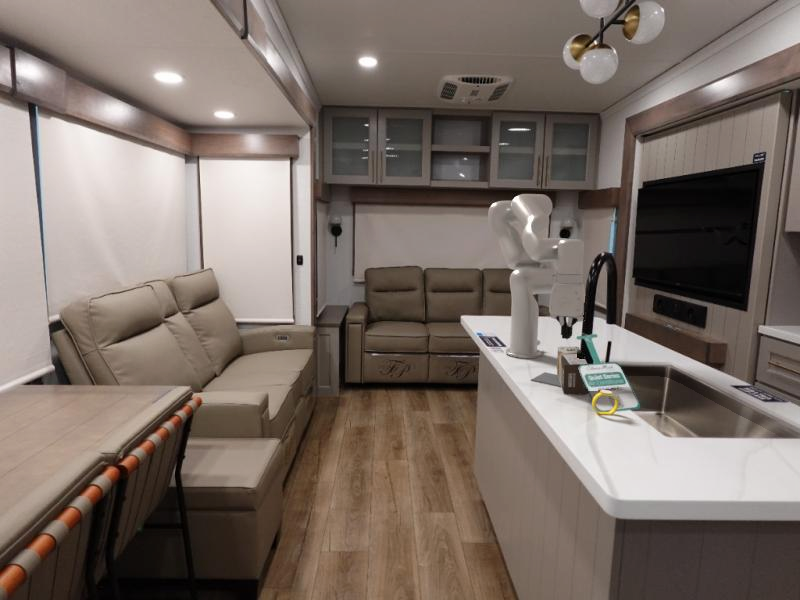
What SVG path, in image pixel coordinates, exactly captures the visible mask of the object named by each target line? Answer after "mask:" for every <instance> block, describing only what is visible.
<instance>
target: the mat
mask: <svg viewBox="0 0 800 600" xmlns="http://www.w3.org/2000/svg"><path fill="white" fill-rule="evenodd" d="M530 381H532V382H536V383H542V384H545V385H548V386H549V385H550V386H554V387H555V386H556V387H559V388H562V387H561V384H560V381H559V378H558V375H557V373H556V374H555V373H550V372H542V373H541V374H539V375H537V376H535V377H532V378H531V379H530Z"/></svg>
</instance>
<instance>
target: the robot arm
mask: <svg viewBox="0 0 800 600" xmlns="http://www.w3.org/2000/svg"><path fill="white" fill-rule="evenodd" d="M552 211H553V202H552V200H551V198H550V197H549V196H547V194H541V193H540V194H539V193H537V194H536V193H521V194H518V195H517V196H515V197H514V198H513V199H512V200H499V201H496V202H494V203H492V204H491V205H490V207H489V208H488V215H487V217H488V220H487V221H488V225H489V228H490V231H491V233H492V234H493V236H494V237H495V239H496V240H497V241H498V245H499V247H500V250H501V252H502V255H503V258H504V260H505V262H506V265H507V266H508V268H509V269H510V270H513V271H512V272H511V273H510V275H509V288H510V294H511V308H510V310H511V313H510V316H511V317H510V340H509V342H510V343H509V347H508V348H506V349H505V354H506V355H507V354H508V355H507V356H509V355H510V356H509V357H512V356H513V358H517V357H518V358H519V359H537V358H540V357H541V356H542V351H541V350H539V349H538V346H539V345H540V344H541V341H540V340H539V339H538V337H539V335H538V333H539V315H540V314H539V312H540V309H539V304H538V301H537V299H536V298H535V296H534V295H543V294H544V295H545V294H550V299H549V309H548V310H549V312H548V313H549V314H550V315H549V317H550V318H552V319H554V320H556V321H557V322H558V323H559V325H560V327H561V328H560V335H561V339H565V340H568V339H569V340H570V339H571V337H572V336H573V329H574V328H573V326H574V325H575V324H577V323H580V322H584V321H583V315H584V303H585V296H586V289H585V284H583V270H584V268H583V267H584V252H585V251H584V250H585V243H584V241H583V240H581V239H577V238H575V239H573V238H572V239H571V238H570V239H569V238H566V237H565V238H564V237H563V238H562V237H554V238H553V237H539V235H541V234H542V233H544V232H545V230H546V229H547V228H548V226H549V224H550V218H549V217H550V215H551V213H552ZM512 224H520V225H521V226H522V227H523V231H522V234H521V233H520V232H519V231H518V230H517V228H515V226H513V225H512ZM555 262H556V266H555V264H554V263H555ZM567 318H568V319H567Z"/></svg>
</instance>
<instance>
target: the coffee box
mask: <svg viewBox="0 0 800 600" xmlns="http://www.w3.org/2000/svg"><path fill="white" fill-rule="evenodd" d="M579 350H580V351H581V349H580V347H579V346H558V347H557V363H556V375H558V378H559V381H560V384H561V387H560V388H561V390H562V393H563V395H573V396H577V395H578V396H579V395H588V390H587V391H586V389H585V386H584V384H583V382H582V379H581V376H580V373H579V370H578V367H579V366H580V365H585V364H588V362H587V360H586V358H585V359H579V358H577V351H579Z"/></svg>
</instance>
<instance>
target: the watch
mask: <svg viewBox="0 0 800 600" xmlns="http://www.w3.org/2000/svg"><path fill="white" fill-rule="evenodd" d="M602 396H605V397H612V398H613V399H614V406H613V408H612V409H611V410H609V411H598V410H597V408H596V402H597V400H598V399H599V398H600V397H602ZM618 400H619V399H618V398H617V397H616V395H614V393H613V391H611V390H608V389H601V390H599V392H598V393H596V394H595V395H594V397H592V401H591V406H592V409H593V410H594V411H595V413H597V414H598V415H601V416H602V415H603V416H604V415H605V416H612V415H613V414H614V413H616V411H618V408H619V401H618Z"/></svg>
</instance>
